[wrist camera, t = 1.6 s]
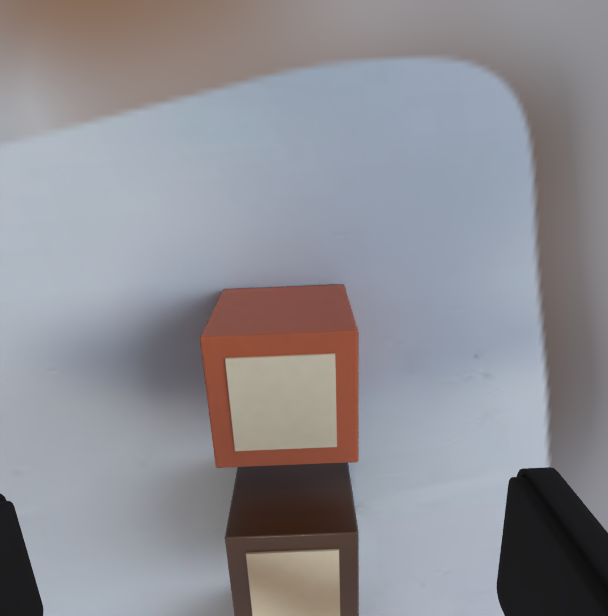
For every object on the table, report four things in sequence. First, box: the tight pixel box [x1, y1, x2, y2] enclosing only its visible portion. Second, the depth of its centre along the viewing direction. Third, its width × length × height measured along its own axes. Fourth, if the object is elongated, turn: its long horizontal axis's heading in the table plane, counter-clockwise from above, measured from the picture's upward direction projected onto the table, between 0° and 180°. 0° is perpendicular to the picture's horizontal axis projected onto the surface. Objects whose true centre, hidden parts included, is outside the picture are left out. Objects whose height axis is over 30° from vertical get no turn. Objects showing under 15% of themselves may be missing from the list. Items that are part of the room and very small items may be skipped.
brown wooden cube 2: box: [225, 462, 359, 616], centre depth 17 cm, size 4×4×4 cm
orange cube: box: [200, 284, 358, 468], centre depth 14 cm, size 4×4×4 cm
